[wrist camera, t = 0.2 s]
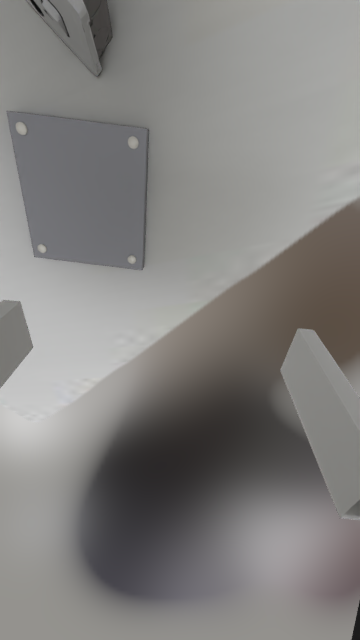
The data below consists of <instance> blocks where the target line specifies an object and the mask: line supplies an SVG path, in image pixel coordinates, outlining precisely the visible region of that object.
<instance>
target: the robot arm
mask: <svg viewBox="0 0 360 640" xmlns="http://www.w3.org/2000/svg"><path fill="white" fill-rule="evenodd" d="M32 348H33V344H32V341H31V337H30V334H29V330H28V327H27V323H26V320H25V316H24V313H23V309H22V306H21V302H20V301H9V300H3V301H2V302H1V303H0V388H1V387H2V386H3V384H4V383H5V382H6V381H7V379H8V378H9V377H10V376H11V374H12V373H13V372H14V371H15V369H16V368H17V367H18V366H19V364H20V363H21V362H22V361H23V360H24V358H25V357H26V356H27V355H28V353H29V352H30V351H31V350H32ZM280 371H281V373H282V376H283V378H284V381H285V383H286V386H287V388H288V391H289V393H290V396H291V398H292V400H293V403H294V405H295V408H296V411H297V413H298V415H299V418H300V421H301V423H302V425H303V428H304V430H305V433H306V435H307V437H308V440H309V443H310V445H311V448H312V450H313V453H314V455H315V457H316V460H317V463H318V465H319V468H320V470H321V473H322V475H323V477H324V480H325V482H326V485H327V488H328V490H329V492H330V495H331V497H332V500H333V502H334V505H335V507H336V510H337V512H338V515H339V517H340V518H343V519H344V518H345V519H355V520H360V397H359V396H358V394H357V393H356V391H355V390H354V388H353V387H352V385H351V384H350V383H349V381H348V380H347V378H346V377H345V375H344V374H343V372H342V371H341V369H340V368H339V366H338V365H337V363H336V362H335V361H334V359H333V358H332V356H331V355H330V353H329V352H328V350H327V349H326V347H325V346H324V344H323V343H322V341H321V340H320V338H319V337H318V336H317V334H316V333H315V331H314V330H307V329H297V332H296V335H295V337H294V339H293V342H292V344H291V346H290V349H289V351H288V353H287V356H286V358H285V360H284V363H283V365H282V368H281V370H280ZM352 640H360V602H359V607H358V611H357V616H356V621H355V626H354V631H353V636H352Z"/></svg>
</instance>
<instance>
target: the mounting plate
mask: <svg viewBox="0 0 360 640" xmlns="http://www.w3.org/2000/svg"><path fill="white" fill-rule="evenodd" d="M7 116H8V121H9V126H10V132H11V137H12V142H13V147H14V153H15V158H16V163H17V168H18V174H19V179H20V184H21V189H22V195H23V200H24V205H25V210H26V216H27V221H28V226H29V231H30V237H31V242H32V247H33V252H34V257H38V258H47V259H55V260H63V261H71V262H79V263H87V264H96V265H104V266H112V267H120V268H128V269H136V270H143V268H144V252H145V225H146V197H147V169H148V141H149V130H148V129H147V128H139V127H131V126H123V125H115V124H107V123H99V122H91V121H84V120H76V119H68V118H60V117H52V116H44V115H36V114H28V113H20V112H13V111H7Z"/></svg>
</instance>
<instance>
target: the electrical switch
mask: <svg viewBox="0 0 360 640" xmlns="http://www.w3.org/2000/svg"><path fill="white" fill-rule="evenodd" d="M26 1H27V2H28V3H29V4H30V5H31V6H32V8H33V9H34V10H35V11H36V12H37V13H38V14H39V15H40V16H41V17H42V18H43V20H44V21H45V22H46V23H47V24H48V25H49V26H50V27H51V28H52V29H53V31H54V32H55V33H56V34H57V35H58V36H59V37H60V38H61V39H62V40H63V41H64V43H65V44H66V45H67V46H68V47H69V48H70V49H71V50H72V51H73V52H74V53H75V55H76V56H77V57H78V58H79V59H80V60H81V61H82V62H83V63H84V64H85V65H86V67H87V68H88V69H89V70H90V71H91V72H92V73H93V74H94V75H95V76H98V74H99V73H100V72H101V71H102V66H101V64H100V62H99V57H100V56H101V55H102V53H103V51H104V49H105V47H106V45H107V44H108V43H109V41H110V40H111V38H112V31H111V25H110V18H109V12H108V5H107V0H26Z"/></svg>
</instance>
